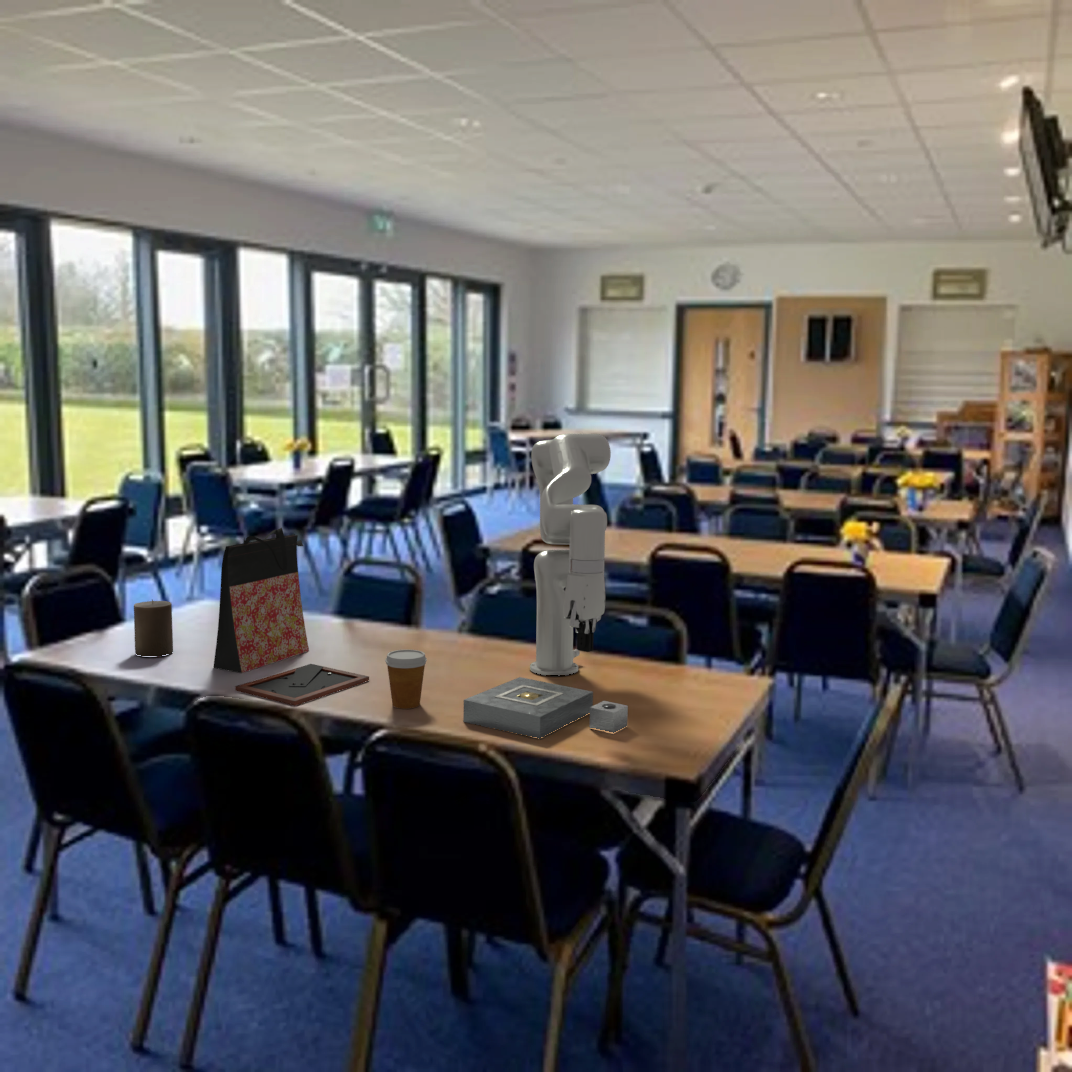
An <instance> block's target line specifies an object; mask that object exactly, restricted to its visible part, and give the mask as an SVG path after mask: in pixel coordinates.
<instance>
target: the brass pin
mask: <svg viewBox="0 0 1072 1072" xmlns="http://www.w3.org/2000/svg"><path fill="white" fill-rule="evenodd" d="M520 698H525V699H530V700H534V699H536V698H538V694H537V693H532V692H526V693H522V694H520Z"/></svg>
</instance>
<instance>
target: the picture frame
mask: <svg viewBox="0 0 1072 1072" xmlns="http://www.w3.org/2000/svg"><path fill="white" fill-rule="evenodd" d="M368 680H369V681H370V676H367V675H363V674H359V673H355V672H350V671H346V670H341V669H337V668H333V667H327V666H322V665H319V664H314V663H308V664H306V665H302V666H299V667H295V668H291V669H289V670H285V671H282V672H279V673H276V674H275V673H274V674H271V675H269V676H266V677H265V676H264V677H261V678H259V679H255V680H252V681H249V682H244V683H241V684H238V685H235V686H234V691H235V692H237V693H242V694H245V695H250V696H254V697H258V698H262V699H266V700H269V701H274V702H277V703H280V704H286V705H289V706H294V707H297V706H299V705H301V703H302V704H305V703H309V702H310V701H315V700H317V699H319V697H320V698H323V697H326V696H330V695H332V694H334V693H333V692H335V693H338V692H340V691H339V690H341V691H343V690H342V689H344V690H346V688H347V689H350V688H352V686H353V687H356V686H358V685H357V684H359V685H361V683H362V684H364V683H363V682H365V681H368ZM369 681H368V682H369ZM365 683H366V682H365ZM355 685H356V686H355ZM349 687H350V688H349ZM337 691H338V692H337ZM331 693H332V694H331ZM325 695H326V696H325ZM322 696H323V697H322ZM304 702H305V703H304Z"/></svg>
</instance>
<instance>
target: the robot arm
mask: <svg viewBox="0 0 1072 1072" xmlns="http://www.w3.org/2000/svg"><path fill="white" fill-rule="evenodd" d="M531 448H532V449H531V465H532V469H533V472H534V475H535V477H536V481H537V484H538V488H539V531H540V532H539V533H540V537H541V540H542V541H543V542H544V543H546V544H548V545H549V544H550V545H569V549H547V550H543V551H541V552H539V553H538V554H537V555H536V556H535V558H534V562H533V571H534V580H535V588H536V630H535V631H536V633H535V634H536V638H535V639H536V641H535V644H536V646H535V650H536V651H535V661H533V662H531V663H530V665H529V670H530V671H531V672H532V673H534V674H536V673H537V674H536V675H540V674H541V675H540V676H546V675H558V676H557V677H561V676H560V675H565V676H570V675H569V674H571V675H574V674H576V673H578V671H579V665H578V664H577V663H576V662H574V660H575V658H577V657H579V656H580V651H581V652H586V653H590V652H592V651H593V650H594V639H595V638H594V636H595V635H594V633H595V631H596V625H597V623H598V622H599V621H600V620H601V619H602V615H604V614H605V610H606V607H605V606H606V586H605V585H606V584H605V575H604V574H605V556H606V555H605V554H606V553H605V552H606V551H605V550H606V546H605V545H606V531H607V528H608V527H607V526H608V515H607V512H606V511H605V510H604V509H603V507H602V506H600V505H597V504H578V503H577V504H574V499H575V498H577V497H579V496H581V495H583V494H584V493H585V492H587V490H589V488H590V486H591V484H592V475H593V474H594V475H595V474H599V473H601V472H602V471H605V470H606V469H607V467H609V464H610V461H611V453H612V452H611V451H612V450H611V447H610V443H609V441H608V439H607V438H606V436H604V435H602V434H599V433H564V434H559V435H558V436H557V435H556V436H555V438H553V439H545V440H540V441H538V442H536V443H534V445H533V447H531ZM574 629H575V633H576V648H575V649H574ZM573 673H574V674H573Z"/></svg>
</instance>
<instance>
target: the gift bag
mask: <svg viewBox="0 0 1072 1072" xmlns="http://www.w3.org/2000/svg"><path fill="white" fill-rule="evenodd" d="M283 530H284V529H283V527H280V528H277V529H274V530H272V531H271V532H270V533H269V534H267V535H266V536H265V537H264V538H263V539H261V538H259V537H256V536H253V535H250V536H249V535H248V536H247V537H246V538H245V537H243V541H242V542H243V543H237V544H231V545H228V546H227V545H226V546H225V549H224V553H223V556H222V561H221V571H220V573H221V574H220V593H219V611H218V622H217V634H216V643H215V644H216V645H215V651H214V661H213V667H214V668H213V669H218V668H219V669H218V670H224V671H228V670H229V672H235V673H239V674H243V673H246V672H249V670H250V671H252V670H253V671H254V670H255V669H258V668H262V667H266V666H267V665H271V664H273V663H276V662H280V661H282V660H283V661H284V660H285V659H289V658H292V657H295V656H298V655H301V654H304V653H307V652H310V649H309V643H308V636H307V631H306V625H305V619H304V618H305V617H304V613H303V612H304V611H303V604H302V596H301V595H302V594H301V587H300V585H301V583H300V577H299V566H298V555H297V553H298V552H297V551H298V550H297V547H304V544H303V541H302V539H299V540H298V536H299V535H298V534H296V533H293V534H288V535H285V534H284V531H283ZM271 535H275V537H272V538H268V537H269V536H271ZM251 540H252V541H251ZM253 540H254V541H253Z"/></svg>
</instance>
